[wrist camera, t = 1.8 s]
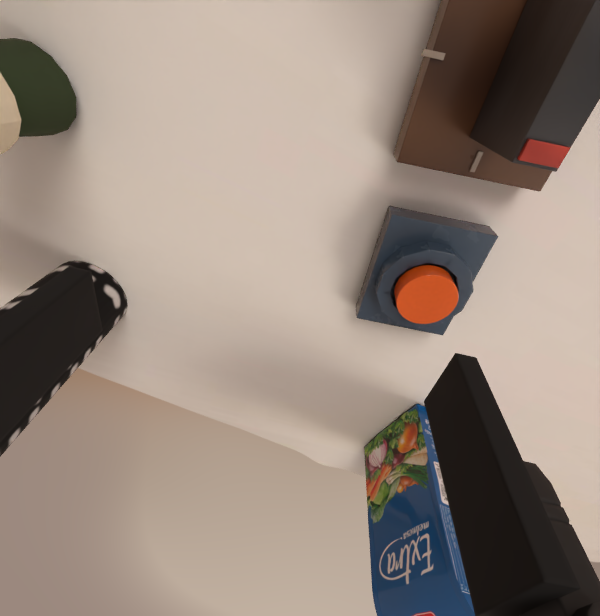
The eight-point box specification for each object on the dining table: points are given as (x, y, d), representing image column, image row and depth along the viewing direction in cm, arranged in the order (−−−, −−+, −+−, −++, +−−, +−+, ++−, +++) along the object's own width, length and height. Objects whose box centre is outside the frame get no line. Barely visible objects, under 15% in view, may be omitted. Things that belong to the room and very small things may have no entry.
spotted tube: (59, 247, 36) (-176, 398, 19) (135, 286, 38) (-22, 453, 21) (49, 300, 40) (-149, 459, 24) (118, 332, 42) (-23, 499, 26)
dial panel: (457, -87, 20) (471, -105, 17) (661, -42, 20) (700, -54, 18) (385, 153, 27) (389, 160, 25) (533, 183, 27) (549, 194, 25)
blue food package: (363, 445, 51) (376, 698, 30) (415, 401, 44) (476, 690, 24) (397, 459, 52) (432, 712, 32) (454, 419, 45) (543, 708, 25)
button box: (389, 205, 30) (394, 223, 26) (489, 226, 30) (507, 245, 26) (355, 305, 36) (357, 329, 33) (438, 322, 36) (447, 347, 33)
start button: (405, 259, 28) (408, 269, 27) (463, 271, 29) (469, 281, 27) (386, 306, 31) (388, 318, 30) (439, 317, 32) (443, 329, 30)
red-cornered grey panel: (534, -18, 19) (628, -58, 13) (576, -9, 19) (689, -44, 13) (468, 137, 24) (513, 163, 17) (502, 144, 24) (558, 173, 18)
